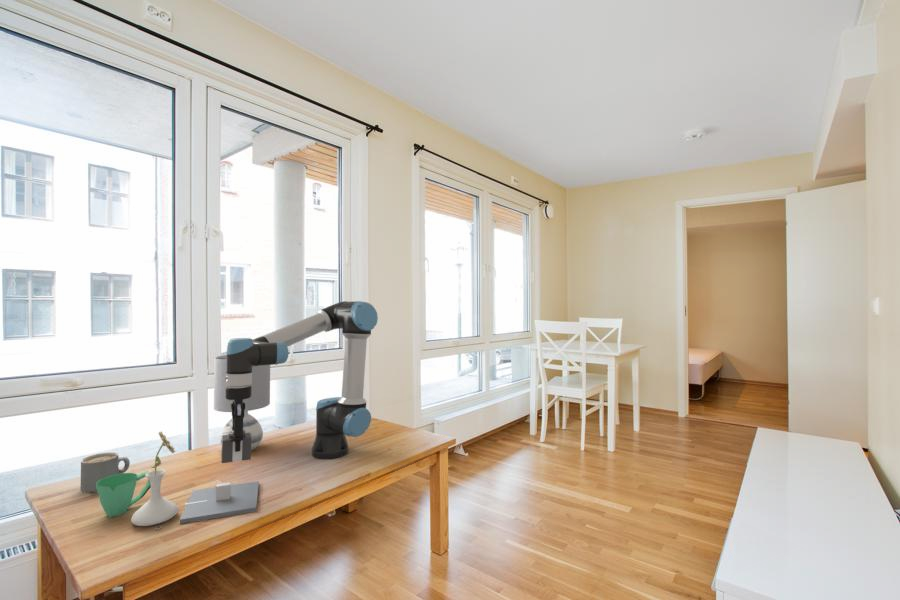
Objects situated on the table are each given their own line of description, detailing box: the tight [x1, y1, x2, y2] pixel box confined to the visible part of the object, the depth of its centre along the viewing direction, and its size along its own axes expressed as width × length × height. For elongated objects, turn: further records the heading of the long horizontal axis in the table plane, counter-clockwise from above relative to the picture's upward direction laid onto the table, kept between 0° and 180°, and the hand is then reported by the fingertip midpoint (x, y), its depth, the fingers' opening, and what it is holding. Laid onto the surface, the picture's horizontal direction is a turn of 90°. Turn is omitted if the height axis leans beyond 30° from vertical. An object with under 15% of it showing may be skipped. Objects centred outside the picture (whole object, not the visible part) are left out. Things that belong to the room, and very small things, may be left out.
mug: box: [96, 471, 151, 517], centre depth 129 cm, size 15×10×10 cm
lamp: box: [213, 354, 271, 451], centre depth 180 cm, size 22×22×40 cm
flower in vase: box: [130, 430, 179, 527], centre depth 123 cm, size 13×11×25 cm
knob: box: [220, 430, 252, 464], centre depth 135 cm, size 8×6×9 cm
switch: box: [179, 480, 260, 525], centre depth 133 cm, size 20×20×6 cm
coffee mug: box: [80, 451, 131, 494], centre depth 145 cm, size 13×10×10 cm
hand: (236, 457), depth 135 cm, fingers closed on knob, 6 cm apart
